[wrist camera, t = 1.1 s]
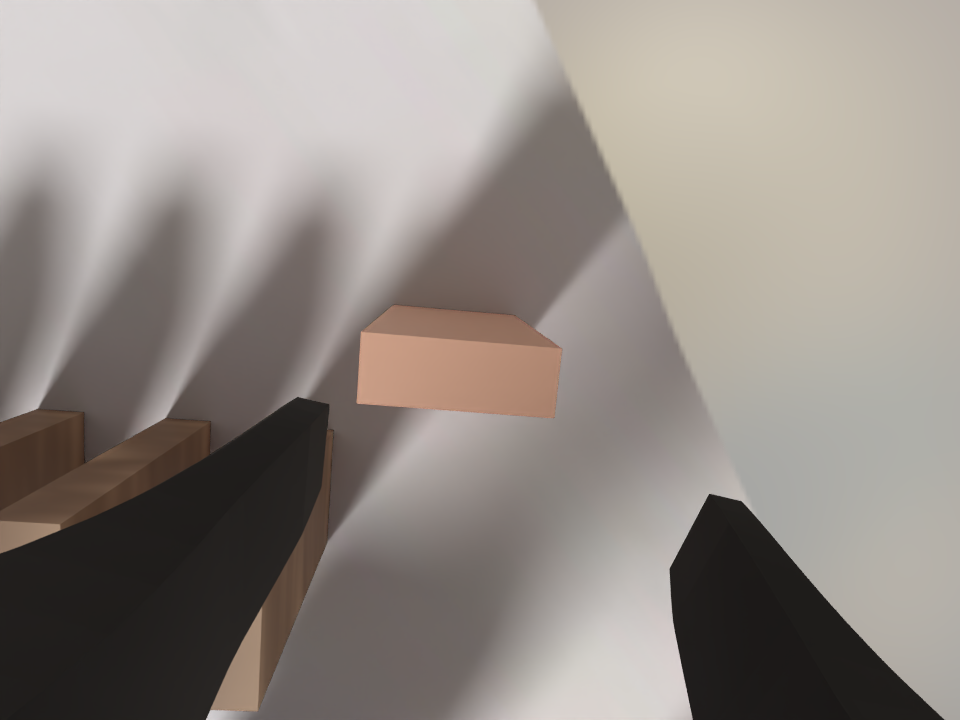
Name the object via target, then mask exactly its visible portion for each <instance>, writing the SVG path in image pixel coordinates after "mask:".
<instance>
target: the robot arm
mask: <svg viewBox="0 0 960 720" xmlns="http://www.w3.org/2000/svg"><path fill="white" fill-rule="evenodd" d="M328 415H329V404H325V403H321V402H316V401H312V400H308V399H304V398H299V397H297V398H295V399H293V400H292V401H290V402H289V403H287V404H286V405H284V406H283V407H281V408H280V409H278V410H277V411H275V412H274V413H272V414H271V415H270V416H268V417H267V418H265V419H264V420H262V421H261V422H259V423H258V424H256V425H255V426H253V427H252V428H250V429H249V430H247V431H246V432H244V433H243V434H242V435H240V436H238V437H237V438H235V439H234V440H232V441H231V442H229V443H227V444H226V445H224V446H223V447H221V448H220V449H218V450H217V451H215V452H213V453H212V454H210V455H209V456H207V457H205V458H204V459H202V460H201V461H199V462H197V463H195V464H194V465H192V466H190V467H188V468H187V469H185V470H183V471H181V472H180V473H178V474H176V475H174V476H173V477H171V478H169V479H168V480H166V481H164V482H162V483H160V484H159V485H157V486H155V487H153V488H151V489H149V490H147V491H145V492H144V493H142V494H140V495H138V496H136V497H134V498H132V499H130V500H128V501H126V502H124V503H121V504H119V505H117V506H115V507H113V508H111V509H109V510H107V511H104V512H102V513H100V514H98V515H96V516H93V517H91V518H89V519H87V520H84V521H82V522H79V523H77V524H74V525H72V526H69V527H67V528H64V529H62V530H59V531H57V532H54V533H52V534H49V535H47V536H45V537H42V538H40V539H37V540H35V541H32V542H30V543H27V544H25V545H22V546H20V547H17V548H14V549H11V550H9V551H6V552H3V553H0V720H206V718H207V716H208V714H209V711H210V709H211V707H212V705H213V702H214V700H215V698H216V696H217V693H218V691H219V689H220V687H221V684H222V682H223V680H224V678H225V676H226V673H227V671H228V669H229V667H230V665H231V663H232V661H233V659H234V657H235V655H236V653H237V651H238V649H239V647H240V645H241V643H242V641H243V639H244V638H245V636H246V634H247V632H248V630H249V629H250V627H251V625H252V623H253V622H254V620H255V618H256V616H257V615H258V613H259V611H260V609H261V607H262V606H263V604H264V602H265V600H266V599H267V597H268V595H269V593H270V591H271V590H272V588H273V586H274V584H275V583H276V581H277V579H278V577H279V575H280V574H281V572H282V570H283V568H284V567H285V565H286V563H287V561H288V559H289V558H290V556H291V554H292V552H293V550H294V549H295V547H296V545H297V543H298V541H299V539H300V538H301V536H302V534H303V531H304V529H305V527H306V524H307V522H308V519H309V517H310V515H311V512H312V510H313V507H314V505H315V502H316V500H317V497H318V495H319V492H320V490H321V487H322V477H323V467H324V457H325V446H326V436H327V426H328ZM670 585H671V602H672V613H673V623H674V629H675V634H676V639H677V644H678V649H679V654H680V659H681V664H682V669H683V674H684V679H685V684H686V688H687V693H688V698H689V703H690V708H691V712H692V717H693V720H944V719H943V718H942V717H941V716H940V715H939V714H938V713H937V712H936V711H934V710H933V709H932V708H931V707H930V706H929V705H928V704H927V703H926V702H925V701H924V700H923V699H922V698H921V697H920V696H919V695H918V694H916V693H915V692H914V691H913V690H912V689H911V688H910V687H909V686H908V685H907V684H906V683H905V682H904V681H903V680H902V679H901V678H900V677H899V676H898V675H897V674H896V673H894V671H893V670H891V668H890V667H888V665H887V664H886V663H885V662H884V661H882V659H881V658H880V657H879V656H878V655H877V654H876V653H875V652H874V651H873V650H872V649H871V648H870V647H869V646H868V645H867V644H866V643H865V642H864V640H863V639H862V638H861V637H860V636H859V635H858V634H857V633H856V632H855V631H854V630H853V629H852V628H851V627H850V625H849V624H847V622H846V621H845V620H844V619H843V618H842V617H841V616H840V614H839V613H838V612H837V611H836V610H835V609H834V608H833V607H832V606H831V605H830V603H829V602H828V601H827V600H826V599H825V598H824V597H823V595H822V594H821V593H820V592H819V591H818V590H817V588H816V587H815V586H814V585H813V584H812V583H811V582H810V580H809V579H808V578H807V577H806V576H805V575H804V573H803V572H802V571H801V570H800V569H799V568H798V566H797V565H796V564H795V563H794V562H793V560H792V559H791V558H790V557H789V556H788V554H787V553H786V552H785V551H784V550H783V548H782V547H781V546H780V545H779V544H778V542H777V541H776V540H775V539H774V538H773V536H772V535H771V534H770V533H769V532H768V531H767V529H766V528H765V527H764V526H763V525H762V524H761V522H760V521H759V520H758V519H757V518H756V517H755V515H754V514H753V513H752V512H751V511H750V510H749V509H748V508H747V507H746V506H745V505H744V503H743V502H742V501H738V500H734V499H729V498H725V497H721V496H717V495H712V494H709V495H708V497H707V499H706V501H705V503H704V505H703V507H702V509H701V510H700V512H699V514H698V516H697V518H696V520H695V522H694V524H693V526H692V527H691V529H690V531H689V533H688V535H687V537H686V539H685V541H684V543H683V544H682V546H681V548H680V550H679V552H678V554H677V556H676V558H675V560H674V562H673V563H672V565H671V567H670Z"/></svg>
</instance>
